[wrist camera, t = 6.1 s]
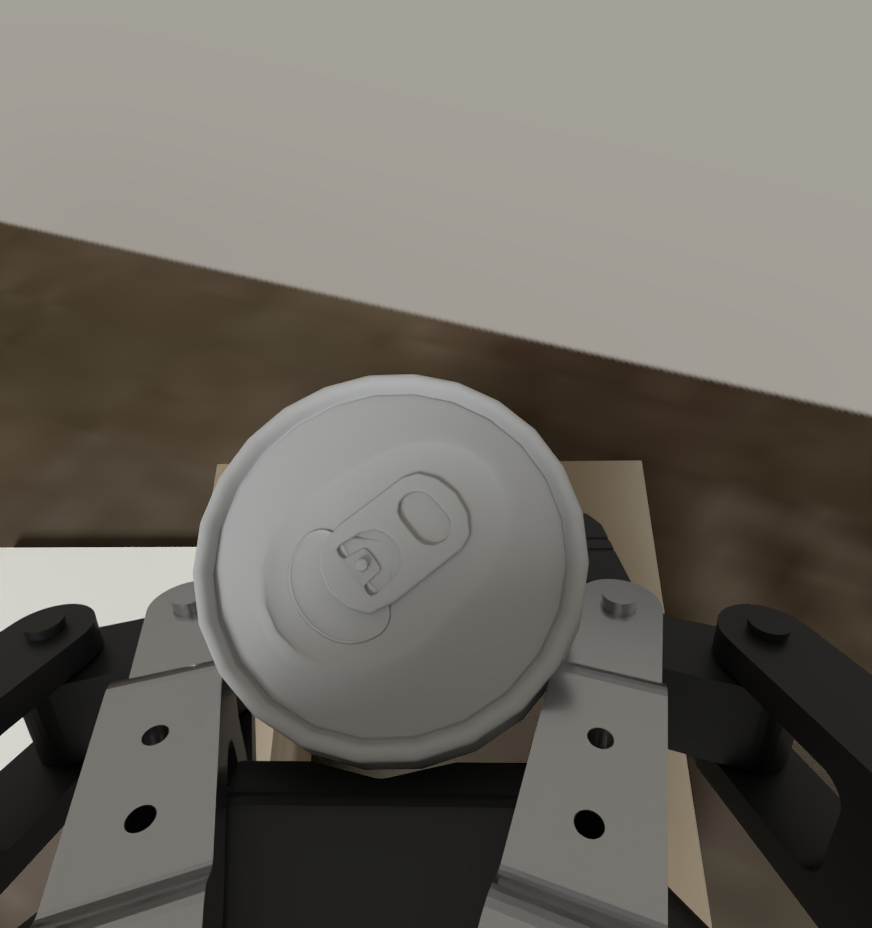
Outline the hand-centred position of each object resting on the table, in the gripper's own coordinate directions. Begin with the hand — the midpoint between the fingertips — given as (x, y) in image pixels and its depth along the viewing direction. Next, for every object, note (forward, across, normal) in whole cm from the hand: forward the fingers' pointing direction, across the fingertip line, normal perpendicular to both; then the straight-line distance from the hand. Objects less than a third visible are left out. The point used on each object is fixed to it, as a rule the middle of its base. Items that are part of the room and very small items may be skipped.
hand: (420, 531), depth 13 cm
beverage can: (+3, 0, +6) cm, 6 cm away
